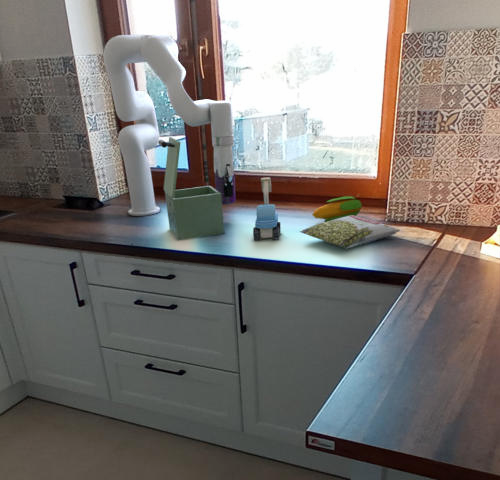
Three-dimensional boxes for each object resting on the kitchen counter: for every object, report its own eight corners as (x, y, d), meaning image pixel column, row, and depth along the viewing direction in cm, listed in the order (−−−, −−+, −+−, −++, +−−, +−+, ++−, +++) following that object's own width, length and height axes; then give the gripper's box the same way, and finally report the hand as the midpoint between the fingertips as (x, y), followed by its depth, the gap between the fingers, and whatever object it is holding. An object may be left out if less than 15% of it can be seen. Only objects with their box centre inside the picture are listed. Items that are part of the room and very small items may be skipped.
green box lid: (171, 137, 194) (156, 134, 192) (180, 142, 182) (164, 139, 180) (165, 190, 202) (151, 188, 200) (174, 198, 190) (159, 196, 188)
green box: (213, 224, 213) (210, 185, 206) (224, 233, 201) (221, 193, 194) (169, 230, 209) (164, 191, 202) (178, 240, 197) (173, 199, 190)
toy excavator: (282, 227, 203) (280, 175, 194) (279, 241, 189) (277, 186, 180) (257, 228, 204) (255, 176, 195) (253, 242, 190) (250, 187, 181)
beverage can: (238, 201, 216) (237, 167, 209) (231, 206, 210) (230, 171, 203) (220, 200, 218) (218, 166, 211) (213, 205, 212) (211, 170, 206)
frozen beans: (298, 222, 185) (356, 207, 196) (298, 240, 188) (355, 225, 199) (344, 237, 170) (403, 220, 182) (343, 257, 173) (401, 239, 185)
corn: (367, 194, 204) (318, 203, 197) (366, 217, 208) (319, 226, 201) (354, 192, 210) (307, 201, 203) (354, 214, 214) (308, 223, 207)
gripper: (206, 138, 209) (209, 190, 218) (219, 145, 195) (222, 200, 204) (226, 137, 210) (228, 188, 220) (240, 143, 196) (242, 198, 206)
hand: (225, 194), depth 212 cm, fingers closed on beverage can, 6 cm apart
